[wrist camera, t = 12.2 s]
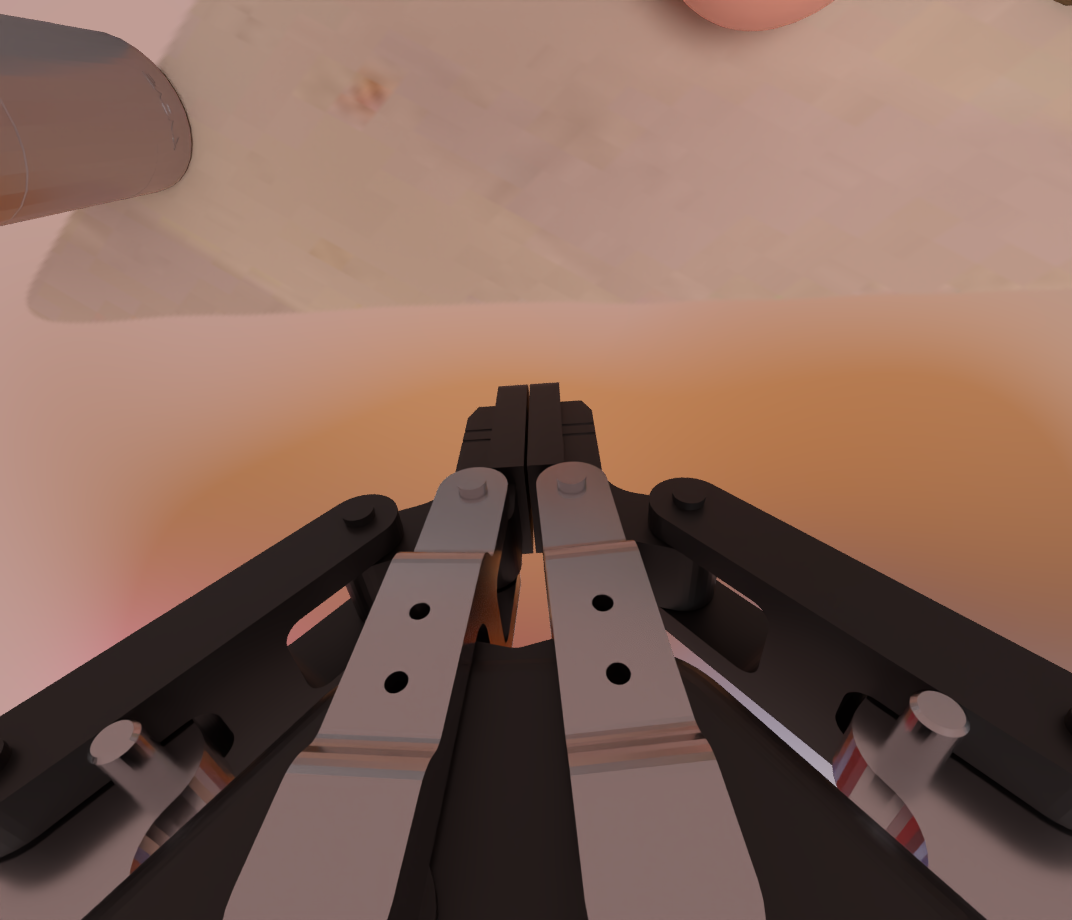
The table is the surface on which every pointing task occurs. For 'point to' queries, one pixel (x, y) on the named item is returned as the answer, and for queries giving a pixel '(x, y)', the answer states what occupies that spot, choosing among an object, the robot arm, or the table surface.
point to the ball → (755, 12)
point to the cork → (1065, 2)
